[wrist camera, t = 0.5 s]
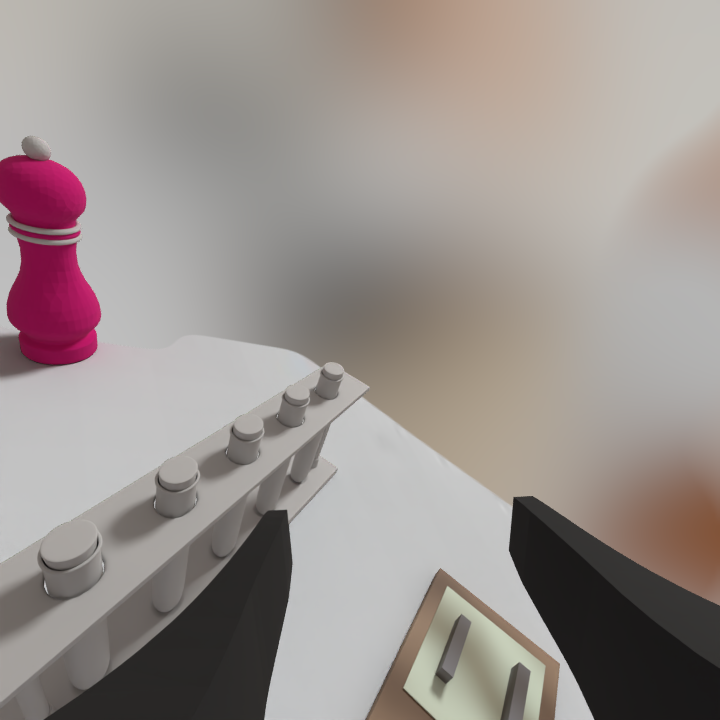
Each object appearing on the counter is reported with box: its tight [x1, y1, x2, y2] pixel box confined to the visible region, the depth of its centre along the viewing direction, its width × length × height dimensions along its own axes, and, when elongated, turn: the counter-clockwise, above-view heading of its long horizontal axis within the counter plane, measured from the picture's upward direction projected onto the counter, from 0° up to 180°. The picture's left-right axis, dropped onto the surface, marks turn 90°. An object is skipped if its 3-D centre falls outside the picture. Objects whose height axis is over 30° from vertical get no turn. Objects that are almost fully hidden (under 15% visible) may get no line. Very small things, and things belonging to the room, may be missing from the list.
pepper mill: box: [0, 136, 101, 365], centre depth 34 cm, size 7×7×20 cm
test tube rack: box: [0, 362, 370, 720], centre depth 24 cm, size 25×4×13 cm, turn 150°
